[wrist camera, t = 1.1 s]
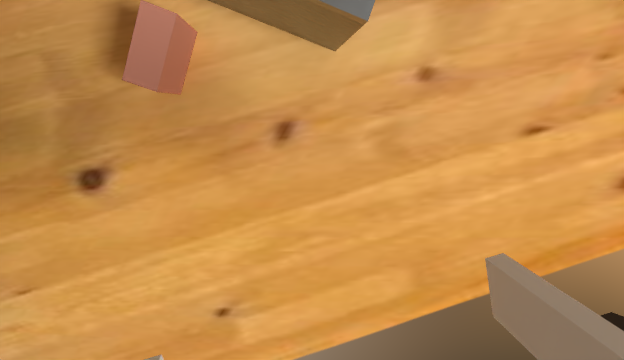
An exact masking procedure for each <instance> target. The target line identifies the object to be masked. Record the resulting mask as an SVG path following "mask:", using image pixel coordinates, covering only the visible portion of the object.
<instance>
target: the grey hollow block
mask: <svg viewBox="0 0 624 360" xmlns="http://www.w3.org/2000/svg"><path fill="white" fill-rule="evenodd" d="M209 1H211V2H214V3H216V4H219V5H221V6H224V7H226V8H229V9H231V10H234V11H236V12H239V13H241V14H244V15H246V16H249V17H251V18H254V19H256V20H259V21H261V22H264V23H266V24H269V25H271V26H274V27H276V28H279V29H281V30H284V31H286V32H289V33H291V34H294V35H296V36H299V37H301V38H304V39H306V40H309V41H311V42H314V43H316V44H319V45H321V46H324V47H326V48H329V49H331V50H334V51H336V50H337V49H338V48H339V47H340V46H341V45H342V44H344V43H345V42H346V41H347V40H348V39H349V38H350V37H351V36H352V35H353V34H354V33H355V32H357V31H358V30H359V29H360V28H361V27H362V26H363V25H364V24H365V23H366V22H367V21H368V19H369V16H370V13H371V11H372V8H373V5H374V2H375V0H209Z"/></svg>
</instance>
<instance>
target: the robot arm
mask: <svg viewBox="0 0 624 360" xmlns="http://www.w3.org/2000/svg"><path fill="white" fill-rule="evenodd" d="M485 260H486V267H487V275H488V282H489V290H490V296H491V304H492V311H493V317H495V319H497V320H498V322H499V323H501V324H502V325H503V326H504V327H505V328H506V329H507V330H508V331H509V332H510V333H511V334H512V335H513V336H514V337H515V338H516V339H517V340H518V341H519V342H520V343H521V344H522V345H523V346H524V347H525V348H526V349H528V350H529V351H530V352H531V353H532V354H533V355H534V356H535V357H536V358H537V359H538V360H624V317H623V316H620V315H618V314H615V313H612V312H611V313H607V314H604V315H601V316H599V315H598V314H596V313H595V312H593V311H592V310H590V309H589V308H587V307H585V306H584V305H582V304H581V303H579V302H578V301H576V300H575V299H573V298H572V297H570V296H568V295H567V294H565V293H564V292H562V291H561V290H559V289H558V288H556V287H555V286H553V285H552V284H550V283H549V282H547V281H545V280H544V279H542V278H541V277H539V276H538V275H536V274H535V273H533V272H532V271H530V270H528V269H527V268H525V267H524V266H522V265H521V264H519V263H518V262H516V261H515V260H513V259H511V258H510V257H508V256H507V255H505V254H504V253H502V254H499V255H495V256H492V257H489V258H485ZM145 360H163V357H162V355H158V356H155V357H151V358H148V359H145Z"/></svg>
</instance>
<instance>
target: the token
mask: <svg viewBox="0 0 624 360" xmlns="http://www.w3.org/2000/svg"><path fill="white" fill-rule="evenodd" d="M196 36H197V31H195V30H194V29H193V28H192V27H191V26H190V25H189V24H188V23H187V22H186V21H184V20H183V19H182V18H181V17H180V16H179V15H178V14H176V13H174V12H171V11H169V10H166V9H164V8H161V7H158V6H156V5H153V4H151V3H148V2H145V1H143V0H141V2H140V6H139V10H138V15H137V19H136V23H135V27H134V32H133V36H132V40H131V44H130V49H129V53H128V57H127V62H126V66H125V70H124V74H123V79H122V80H124V81H127V82H130V83H133V84H136V85H138V86H141V87H144V88H147V89H150V90H153V91H156V92H163V93H173V94H181V91H182V87H183V84H184V80H185V76H186V73H187V69H188V65H189V62H190V58H191V54H192V50H193V47H194V43H195V39H196Z"/></svg>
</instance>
